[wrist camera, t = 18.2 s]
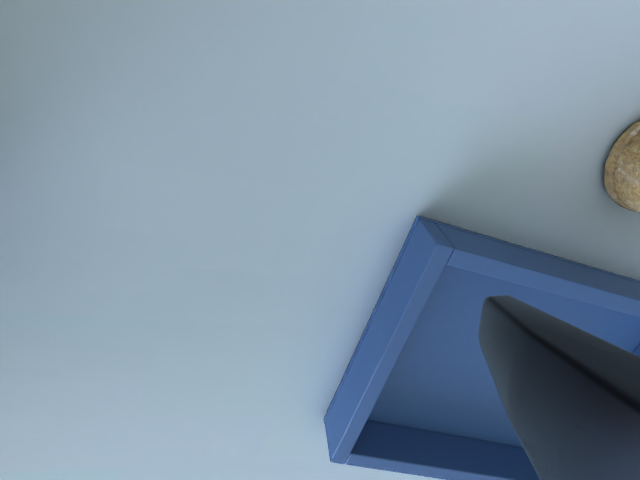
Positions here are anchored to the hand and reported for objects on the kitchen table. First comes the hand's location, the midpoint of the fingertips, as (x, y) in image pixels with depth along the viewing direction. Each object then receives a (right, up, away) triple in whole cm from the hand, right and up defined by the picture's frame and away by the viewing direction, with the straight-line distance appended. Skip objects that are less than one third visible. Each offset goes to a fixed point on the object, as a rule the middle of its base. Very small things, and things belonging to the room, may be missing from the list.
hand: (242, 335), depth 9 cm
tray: (+11, -5, +17) cm, 21 cm away
